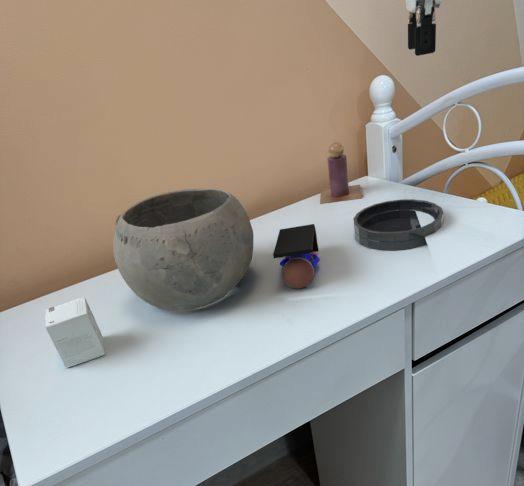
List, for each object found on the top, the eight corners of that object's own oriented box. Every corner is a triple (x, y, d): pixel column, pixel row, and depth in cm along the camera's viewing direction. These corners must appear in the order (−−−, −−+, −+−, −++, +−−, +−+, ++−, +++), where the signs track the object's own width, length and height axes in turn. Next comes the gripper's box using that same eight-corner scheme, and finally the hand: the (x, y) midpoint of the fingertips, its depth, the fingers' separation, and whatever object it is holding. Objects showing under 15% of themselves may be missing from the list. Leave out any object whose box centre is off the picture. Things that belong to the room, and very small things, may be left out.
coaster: (360, 186, 113) (360, 184, 113) (362, 200, 106) (361, 198, 106) (321, 191, 115) (320, 189, 115) (320, 205, 108) (319, 203, 107)
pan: (434, 212, 94) (435, 194, 92) (449, 246, 82) (450, 226, 80) (353, 222, 97) (352, 205, 95) (356, 257, 85) (355, 238, 83)
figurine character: (285, 263, 91) (278, 295, 78) (278, 222, 87) (270, 249, 74) (321, 258, 90) (320, 291, 77) (316, 217, 86) (314, 243, 73)
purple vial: (348, 189, 111) (344, 138, 105) (349, 195, 108) (345, 143, 102) (331, 191, 112) (326, 141, 106) (330, 198, 109) (325, 146, 103)
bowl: (288, 284, 81) (273, 194, 72) (160, 342, 73) (127, 249, 65) (224, 247, 98) (206, 171, 90) (116, 290, 91) (85, 212, 82)
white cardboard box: (106, 355, 73) (87, 313, 69) (65, 369, 72) (43, 327, 68) (102, 336, 78) (85, 295, 74) (64, 349, 77) (44, 308, 73)
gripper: (458, -90, 68) (453, 52, 78) (437, -77, 82) (435, 42, 92) (402, -76, 70) (404, 61, 80) (391, -66, 84) (394, 49, 94)
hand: (420, 50), depth 86 cm, fingers open, 9 cm apart
